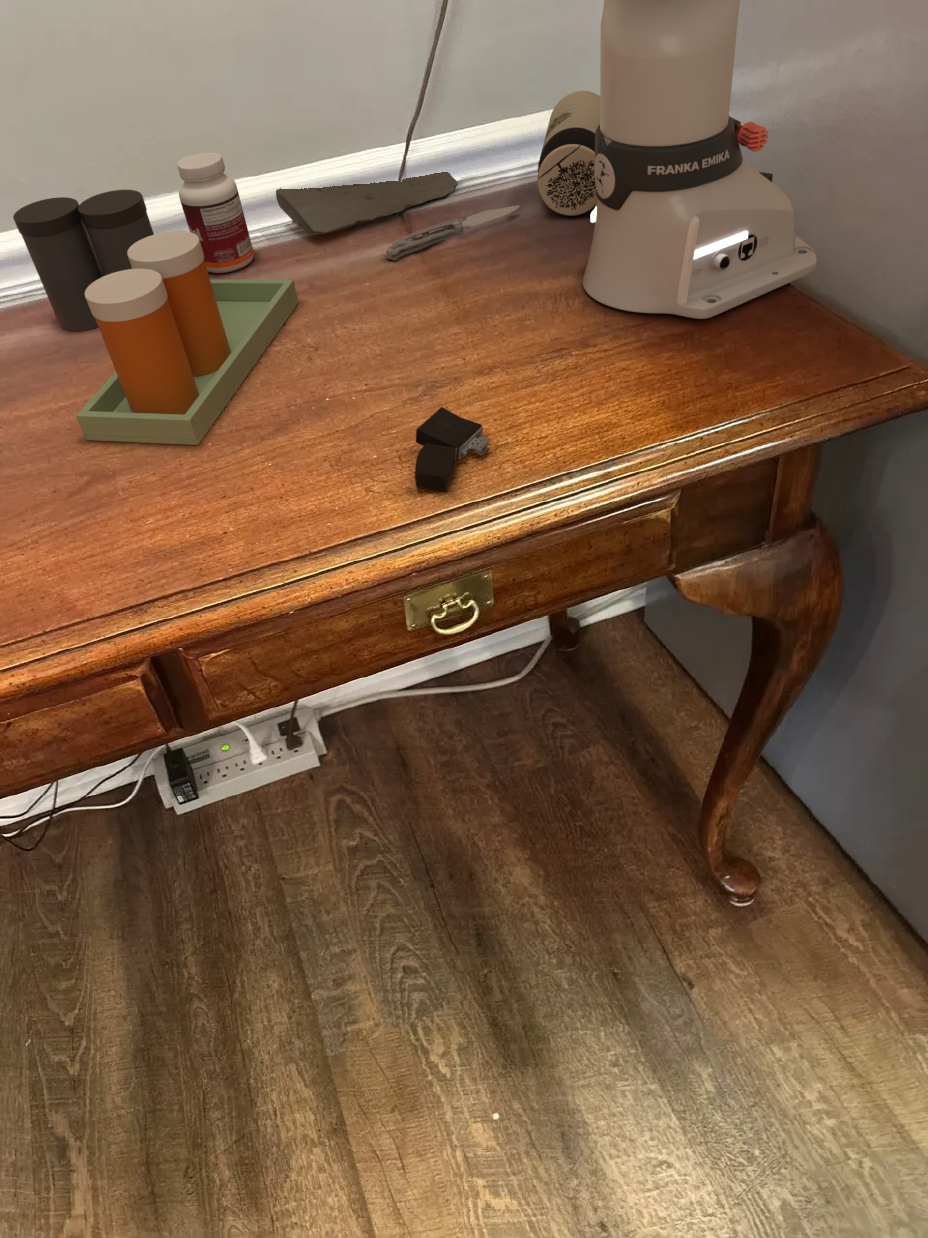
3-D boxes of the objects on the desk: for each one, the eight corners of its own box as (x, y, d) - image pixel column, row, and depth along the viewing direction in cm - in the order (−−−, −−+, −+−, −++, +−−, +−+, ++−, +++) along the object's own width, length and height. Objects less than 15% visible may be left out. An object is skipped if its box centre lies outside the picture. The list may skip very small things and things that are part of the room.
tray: (204, 301, 99) (197, 278, 97) (298, 302, 97) (293, 279, 95) (86, 440, 82) (75, 415, 80) (198, 445, 79) (189, 419, 78)
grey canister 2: (172, 291, 102) (137, 184, 94) (182, 314, 98) (146, 204, 90) (115, 306, 101) (74, 198, 93) (122, 330, 96) (80, 219, 88)
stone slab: (312, 218, 104) (269, 187, 109) (315, 243, 106) (272, 211, 111) (475, 176, 114) (428, 150, 119) (474, 200, 116) (428, 172, 121)
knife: (526, 202, 106) (512, 194, 108) (388, 251, 101) (376, 241, 103) (527, 216, 107) (513, 208, 109) (391, 265, 102) (378, 255, 104)
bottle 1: (225, 338, 92) (192, 224, 84) (239, 366, 87) (204, 249, 80) (162, 355, 90) (122, 241, 83) (172, 384, 86) (131, 267, 79)
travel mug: (625, 139, 116) (620, 196, 103) (567, 171, 119) (556, 231, 107) (597, 76, 111) (588, 127, 99) (537, 111, 115) (522, 166, 102)
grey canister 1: (114, 298, 102) (75, 191, 94) (121, 321, 98) (80, 212, 90) (56, 313, 101) (11, 206, 93) (61, 337, 96) (14, 227, 89)
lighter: (384, 477, 73) (440, 505, 71) (384, 457, 71) (442, 484, 70) (440, 426, 77) (494, 450, 76) (442, 405, 76) (497, 430, 74)
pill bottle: (197, 258, 108) (166, 156, 100) (250, 246, 109) (224, 144, 101) (204, 279, 103) (172, 174, 96) (259, 266, 104) (232, 162, 97)
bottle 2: (194, 378, 87) (155, 261, 79) (206, 410, 82) (167, 290, 75) (127, 397, 85) (80, 280, 78) (136, 430, 81) (88, 310, 73)
